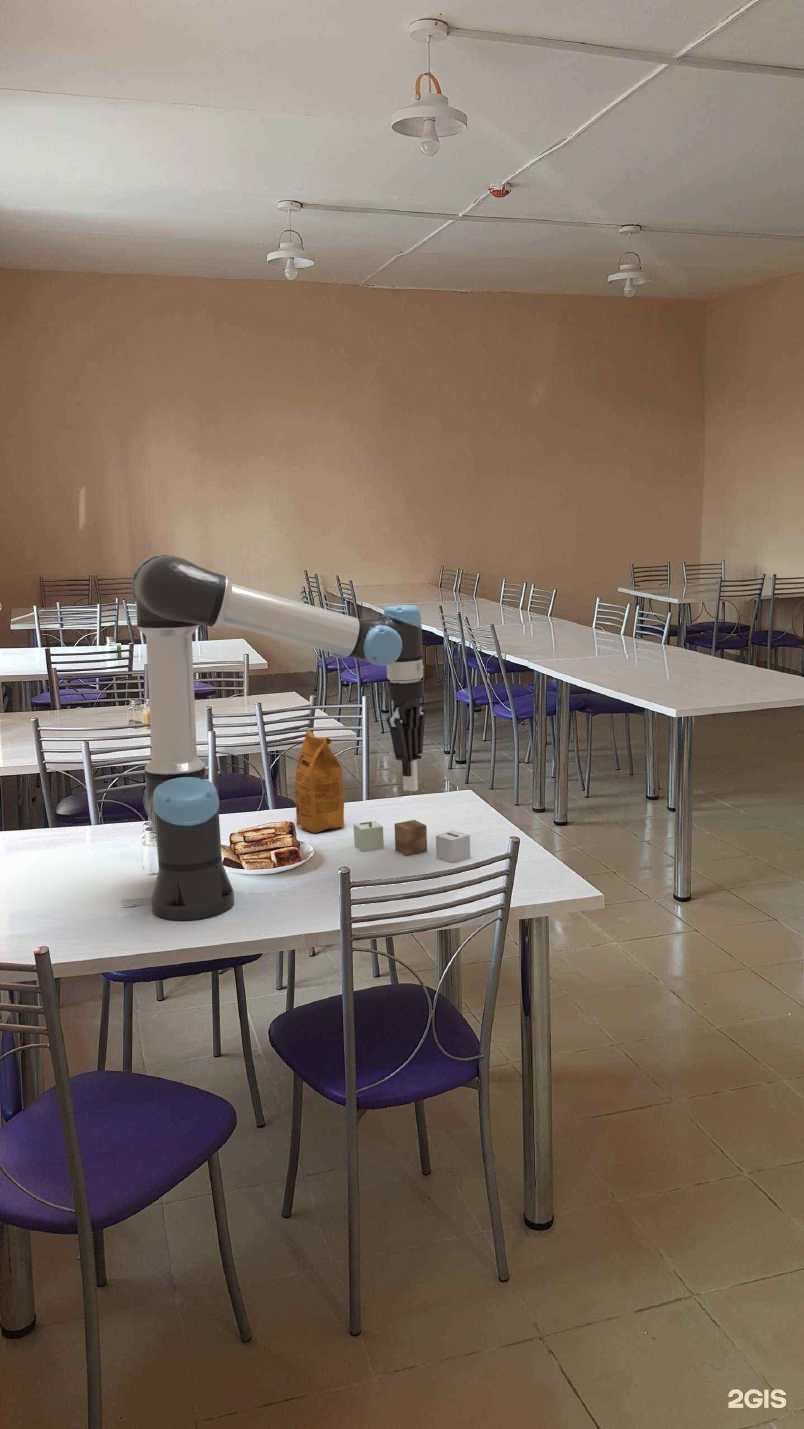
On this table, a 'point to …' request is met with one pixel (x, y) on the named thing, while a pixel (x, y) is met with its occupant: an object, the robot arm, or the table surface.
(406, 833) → the plain walnut block
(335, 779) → the coffee package
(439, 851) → the grey numbered block
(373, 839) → the sage numbered block
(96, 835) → the table surface
